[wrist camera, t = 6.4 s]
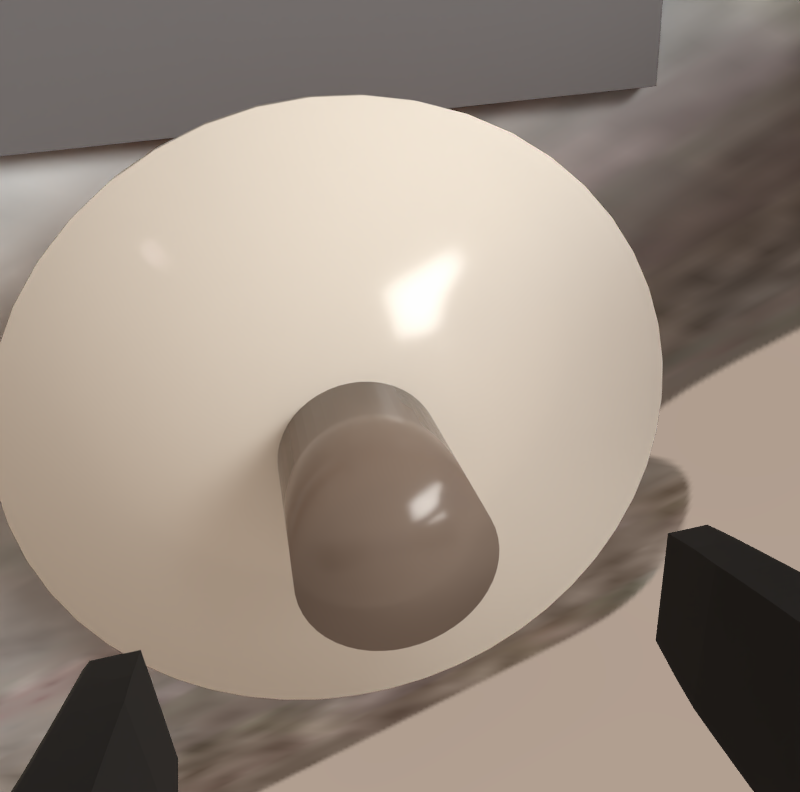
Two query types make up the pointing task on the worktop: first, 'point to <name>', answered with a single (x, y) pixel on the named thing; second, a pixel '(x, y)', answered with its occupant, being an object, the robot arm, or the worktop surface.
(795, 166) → the worktop surface
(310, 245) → the lid
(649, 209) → the worktop surface
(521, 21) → the mat
